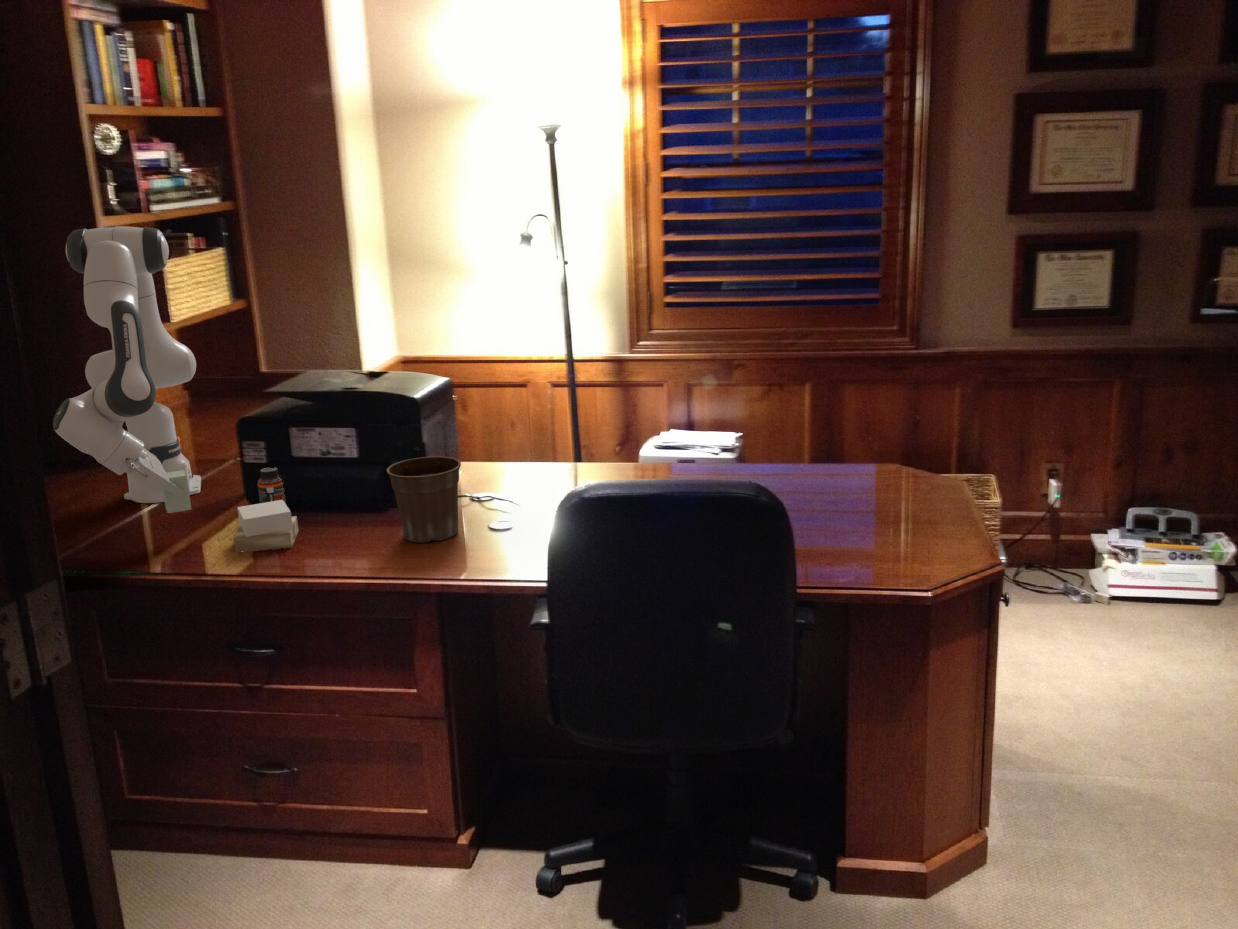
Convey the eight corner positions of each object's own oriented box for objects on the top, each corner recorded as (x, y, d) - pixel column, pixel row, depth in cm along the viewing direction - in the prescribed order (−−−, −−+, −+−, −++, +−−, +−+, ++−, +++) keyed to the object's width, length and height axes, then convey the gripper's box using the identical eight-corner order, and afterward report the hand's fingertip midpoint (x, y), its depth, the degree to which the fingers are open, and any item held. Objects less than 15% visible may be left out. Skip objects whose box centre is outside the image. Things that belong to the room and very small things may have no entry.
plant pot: (379, 543, 245) (371, 473, 241) (417, 520, 260) (411, 453, 255) (443, 550, 239) (437, 478, 235) (479, 526, 254) (473, 458, 249)
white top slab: (239, 524, 251) (237, 507, 250) (284, 516, 255) (282, 499, 254) (246, 536, 242) (243, 519, 241) (292, 528, 247) (290, 511, 245)
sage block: (165, 507, 252) (160, 473, 250) (188, 503, 255) (183, 470, 252) (168, 513, 248) (162, 479, 246) (191, 509, 250) (186, 475, 248)
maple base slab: (245, 536, 255) (243, 520, 254) (298, 532, 256) (296, 515, 255) (235, 554, 243) (233, 537, 242) (292, 550, 245) (289, 532, 244)
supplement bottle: (279, 518, 265) (273, 473, 262) (257, 517, 266) (250, 472, 263) (291, 510, 271) (285, 466, 268) (269, 509, 272) (263, 465, 269)
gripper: (138, 454, 235) (193, 490, 242) (130, 433, 252) (181, 467, 259) (119, 477, 234) (175, 513, 241) (112, 455, 252) (164, 488, 259)
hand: (178, 489), depth 250 cm, fingers closed on sage block, 5 cm apart
